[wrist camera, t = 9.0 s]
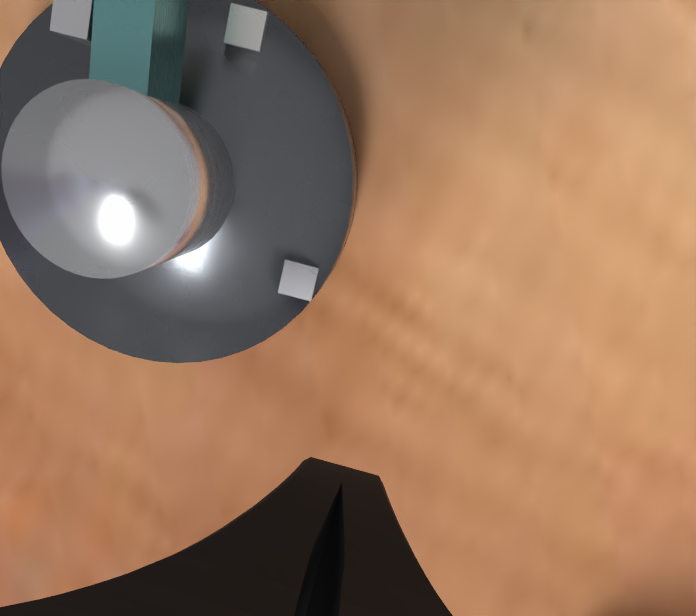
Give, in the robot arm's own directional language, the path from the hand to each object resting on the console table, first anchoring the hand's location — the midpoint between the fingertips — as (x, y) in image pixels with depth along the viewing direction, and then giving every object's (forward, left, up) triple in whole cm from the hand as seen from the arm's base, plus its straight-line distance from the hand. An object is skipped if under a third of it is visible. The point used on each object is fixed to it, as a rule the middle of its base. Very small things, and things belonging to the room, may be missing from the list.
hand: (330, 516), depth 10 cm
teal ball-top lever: (-7, +7, -8) cm, 13 cm away
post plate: (-7, +4, -9) cm, 12 cm away
